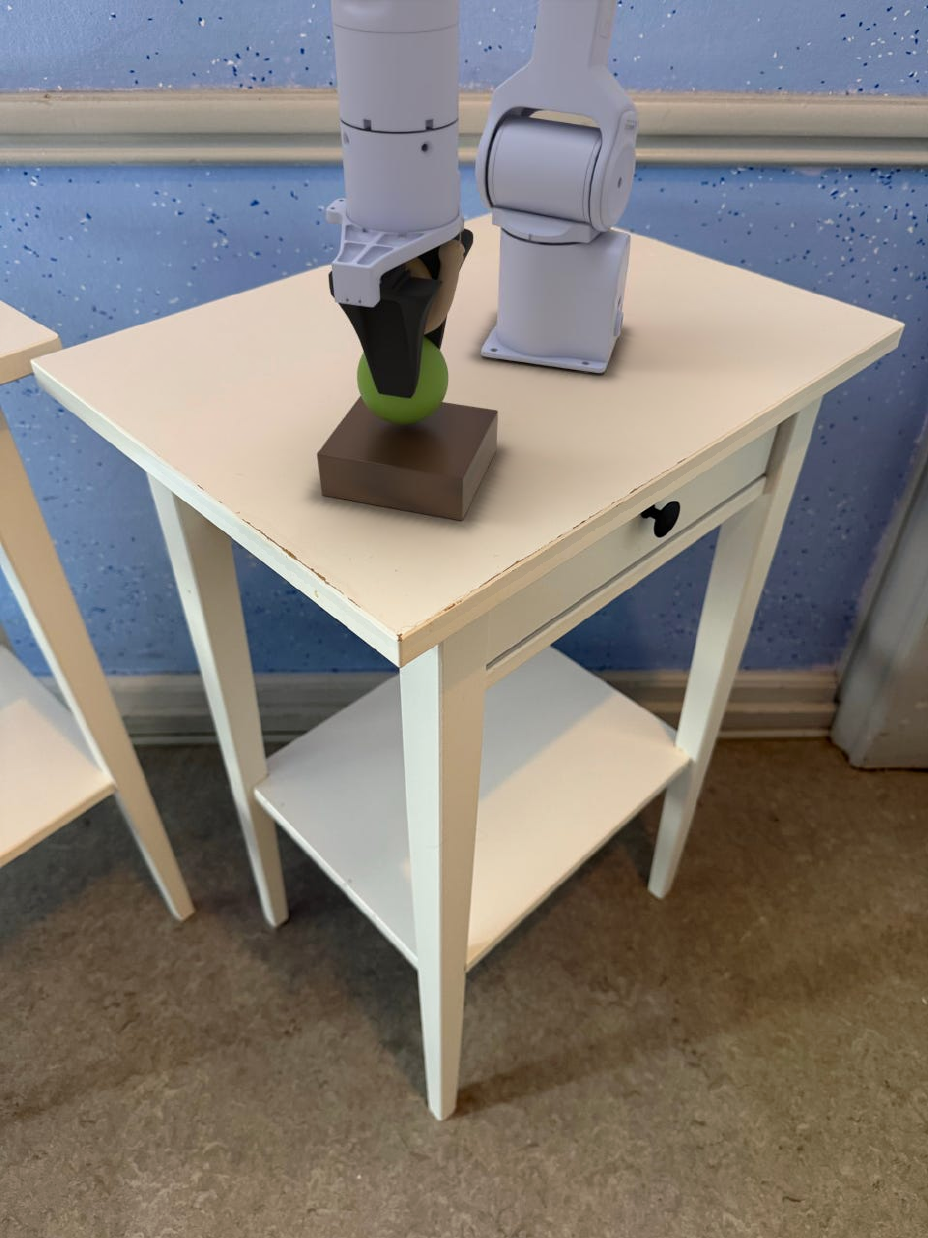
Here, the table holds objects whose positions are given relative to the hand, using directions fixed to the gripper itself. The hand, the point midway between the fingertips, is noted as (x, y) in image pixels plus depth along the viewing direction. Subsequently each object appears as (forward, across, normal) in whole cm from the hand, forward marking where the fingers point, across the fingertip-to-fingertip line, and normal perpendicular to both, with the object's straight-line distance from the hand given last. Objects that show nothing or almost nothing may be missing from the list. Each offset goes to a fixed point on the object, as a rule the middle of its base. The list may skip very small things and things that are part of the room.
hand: (408, 375), depth 53 cm
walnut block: (+7, 0, 0) cm, 7 cm away
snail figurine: (+3, -1, 0) cm, 4 cm away
